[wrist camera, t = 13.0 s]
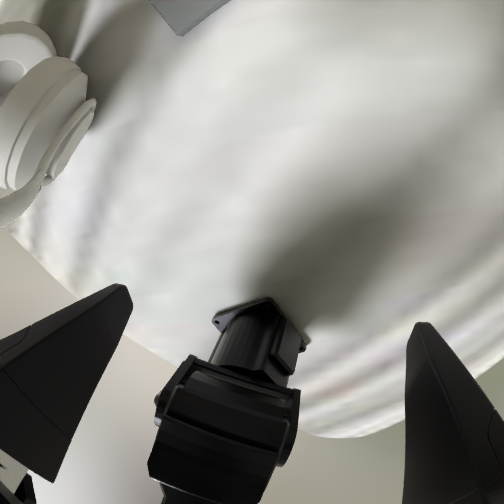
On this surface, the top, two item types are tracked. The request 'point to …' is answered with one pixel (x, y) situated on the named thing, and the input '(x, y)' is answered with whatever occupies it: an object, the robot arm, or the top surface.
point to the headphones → (36, 114)
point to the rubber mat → (185, 12)
